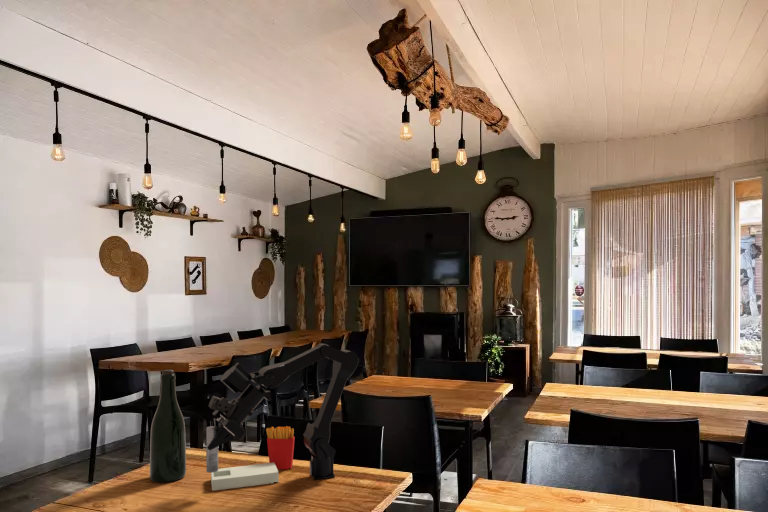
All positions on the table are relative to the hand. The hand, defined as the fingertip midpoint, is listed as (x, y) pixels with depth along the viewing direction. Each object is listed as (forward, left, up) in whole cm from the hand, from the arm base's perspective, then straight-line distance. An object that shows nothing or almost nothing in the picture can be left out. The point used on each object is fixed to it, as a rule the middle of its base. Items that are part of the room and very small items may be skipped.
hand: (207, 447), depth 160 cm
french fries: (-23, -18, -14) cm, 32 cm away
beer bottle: (+11, -21, -14) cm, 28 cm away
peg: (-1, 0, -7) cm, 7 cm away
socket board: (-11, -9, -13) cm, 20 cm away
